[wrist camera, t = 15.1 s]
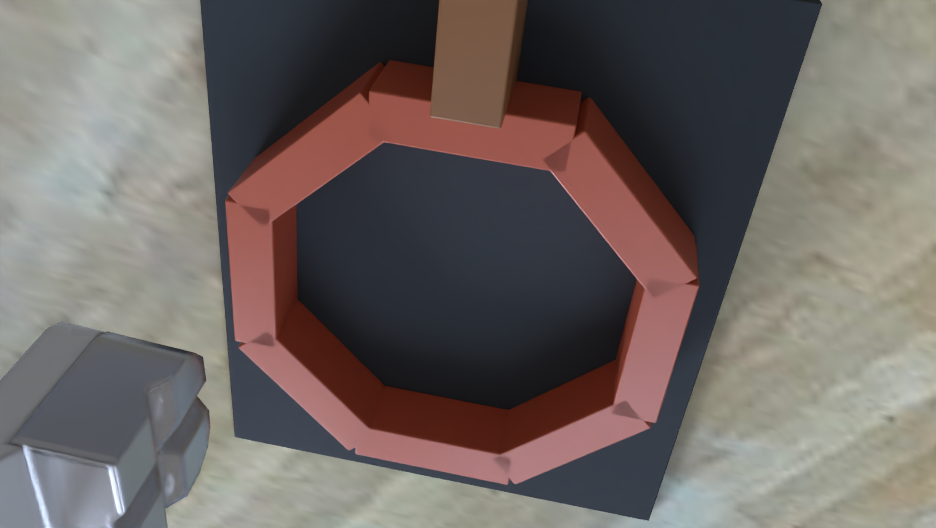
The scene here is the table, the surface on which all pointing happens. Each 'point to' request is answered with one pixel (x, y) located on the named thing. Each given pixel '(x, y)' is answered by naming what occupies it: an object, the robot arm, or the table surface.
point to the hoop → (484, 137)
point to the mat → (502, 207)
